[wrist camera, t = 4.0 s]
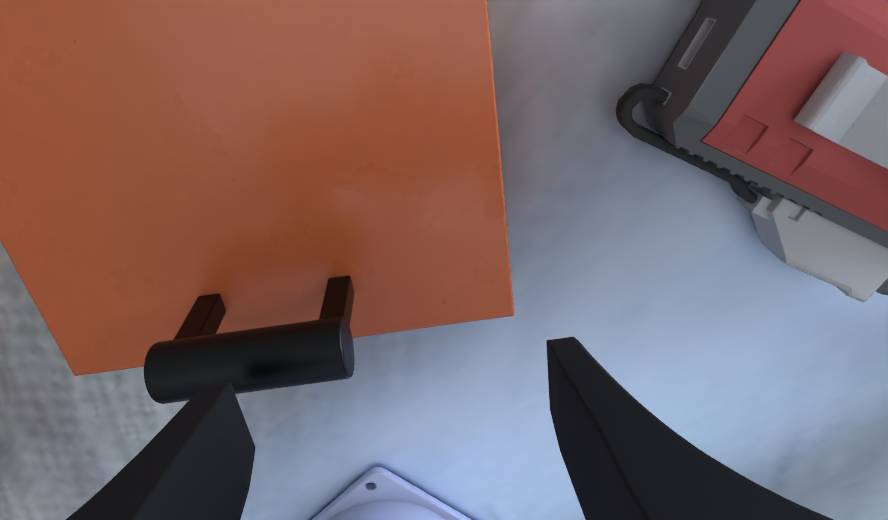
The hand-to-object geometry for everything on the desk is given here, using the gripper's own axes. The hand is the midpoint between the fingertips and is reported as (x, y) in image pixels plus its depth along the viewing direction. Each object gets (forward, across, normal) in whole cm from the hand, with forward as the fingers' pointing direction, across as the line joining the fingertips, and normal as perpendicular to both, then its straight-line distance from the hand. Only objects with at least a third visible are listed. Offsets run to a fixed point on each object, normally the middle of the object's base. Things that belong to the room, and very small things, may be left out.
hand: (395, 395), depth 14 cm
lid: (+6, +4, -4) cm, 8 cm away
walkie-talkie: (+10, -17, 0) cm, 20 cm away
